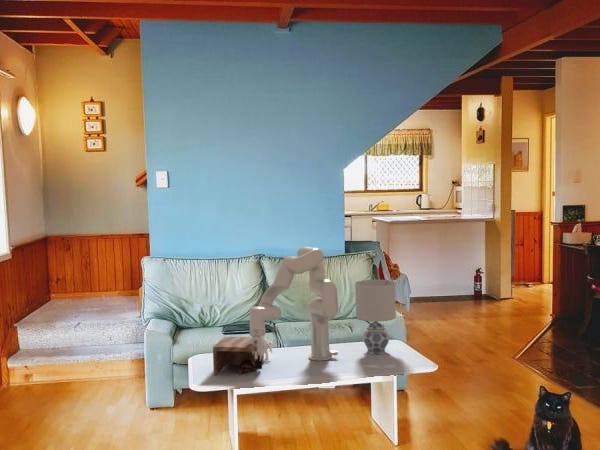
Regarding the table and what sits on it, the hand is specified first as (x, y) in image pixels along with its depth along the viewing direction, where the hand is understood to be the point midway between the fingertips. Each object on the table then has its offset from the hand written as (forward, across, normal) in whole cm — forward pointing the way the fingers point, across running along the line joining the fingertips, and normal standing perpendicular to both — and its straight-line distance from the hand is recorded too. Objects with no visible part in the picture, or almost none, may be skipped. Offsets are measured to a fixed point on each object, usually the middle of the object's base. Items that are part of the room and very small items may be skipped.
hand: (258, 368), depth 287 cm
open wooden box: (+1, +1, +10) cm, 10 cm away
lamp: (+1, +38, -57) cm, 68 cm away
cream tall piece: (+1, +20, +1) cm, 20 cm away
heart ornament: (+2, -1, +7) cm, 7 cm away
